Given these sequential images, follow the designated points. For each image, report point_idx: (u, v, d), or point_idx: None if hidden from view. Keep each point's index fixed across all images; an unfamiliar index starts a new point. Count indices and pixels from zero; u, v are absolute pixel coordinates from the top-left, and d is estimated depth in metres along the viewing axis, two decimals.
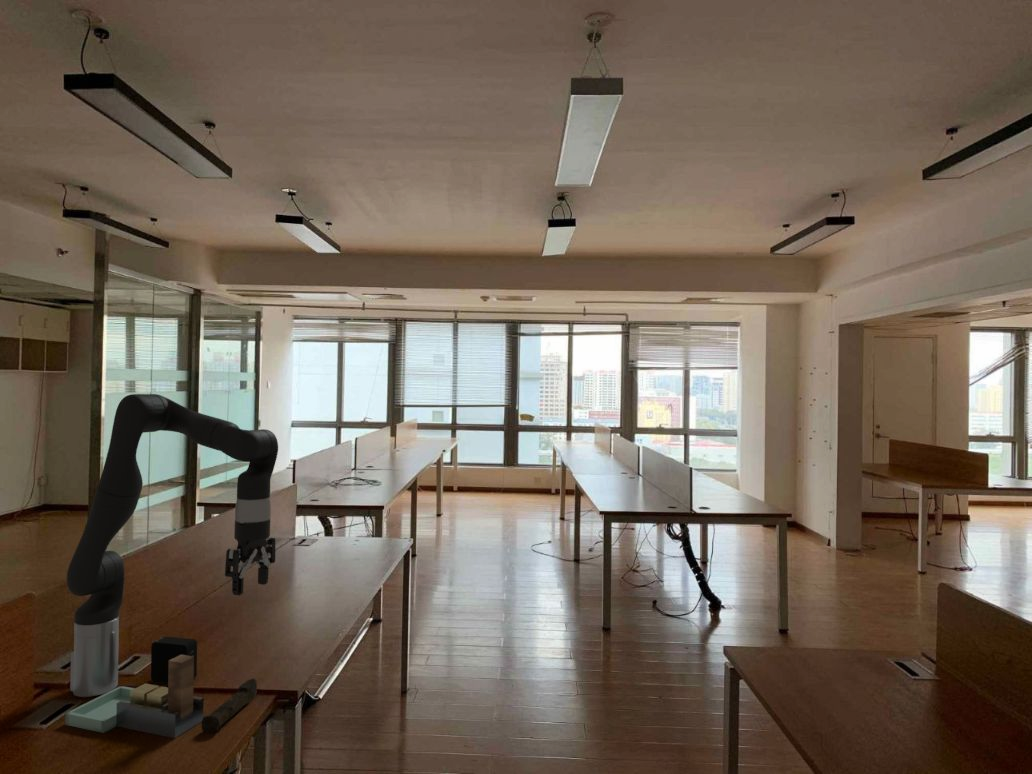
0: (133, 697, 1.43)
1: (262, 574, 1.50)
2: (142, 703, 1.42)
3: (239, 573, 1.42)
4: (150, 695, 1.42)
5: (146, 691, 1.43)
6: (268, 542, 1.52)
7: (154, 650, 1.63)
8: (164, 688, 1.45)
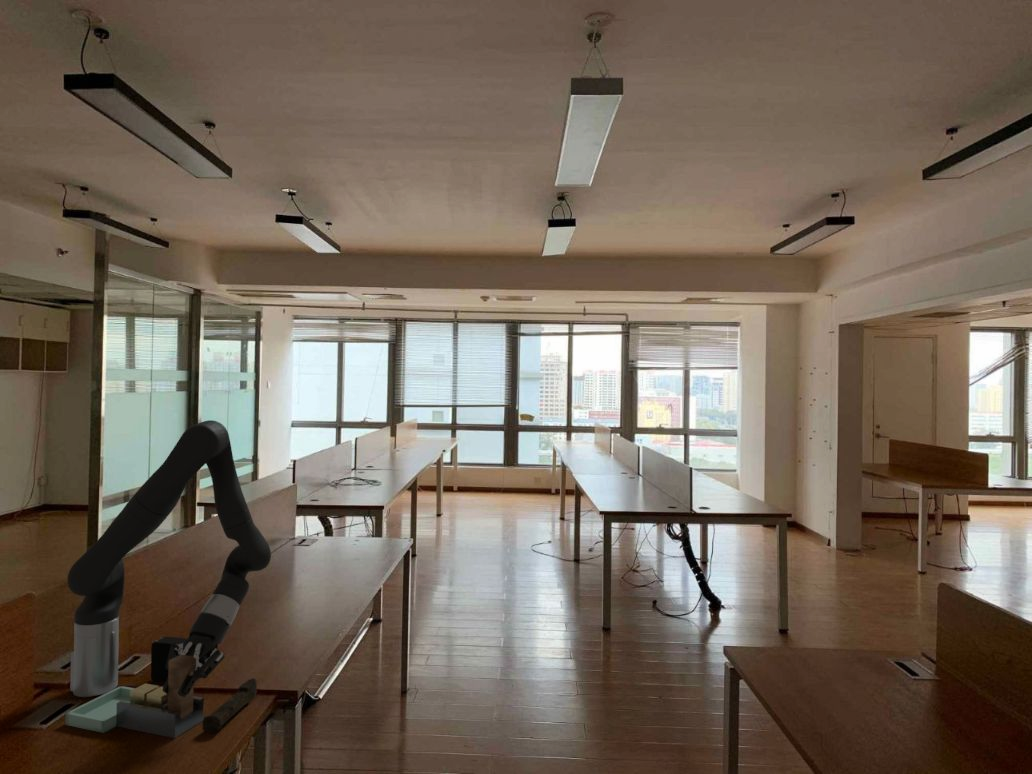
0: (133, 697, 1.43)
1: None
2: (142, 703, 1.42)
3: None
4: (150, 695, 1.42)
5: (146, 691, 1.43)
6: None
7: (154, 650, 1.63)
8: None
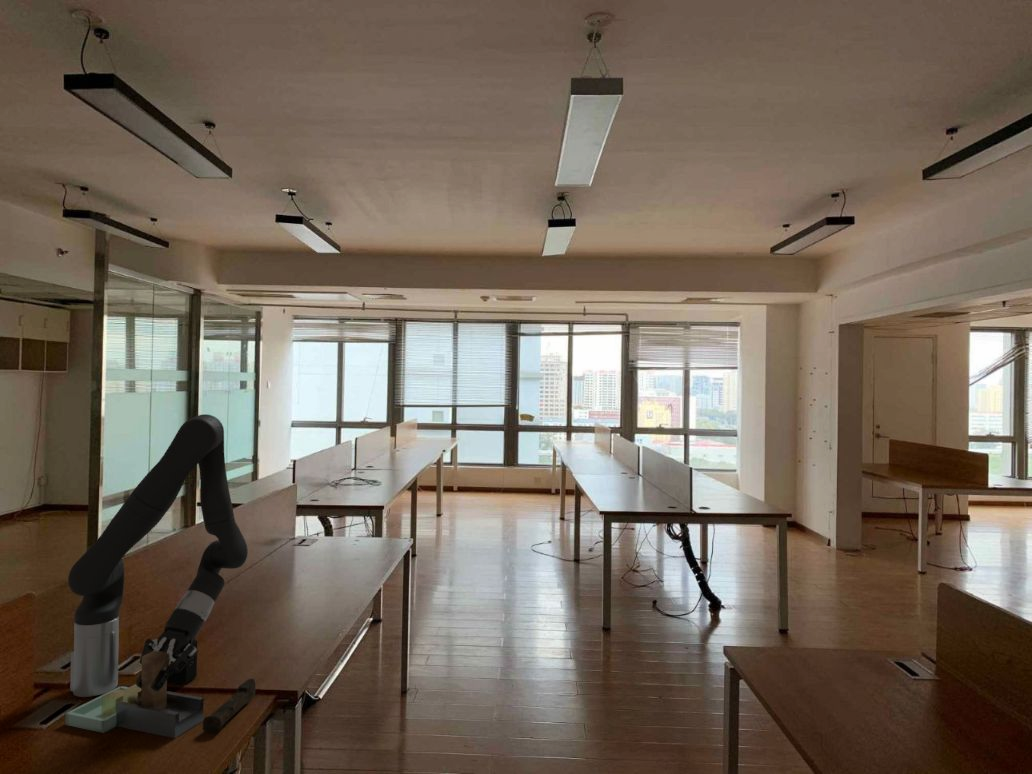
0: (105, 710, 1.45)
1: None
2: (109, 700, 1.45)
3: None
4: (126, 691, 1.44)
5: None
6: None
7: None
8: None
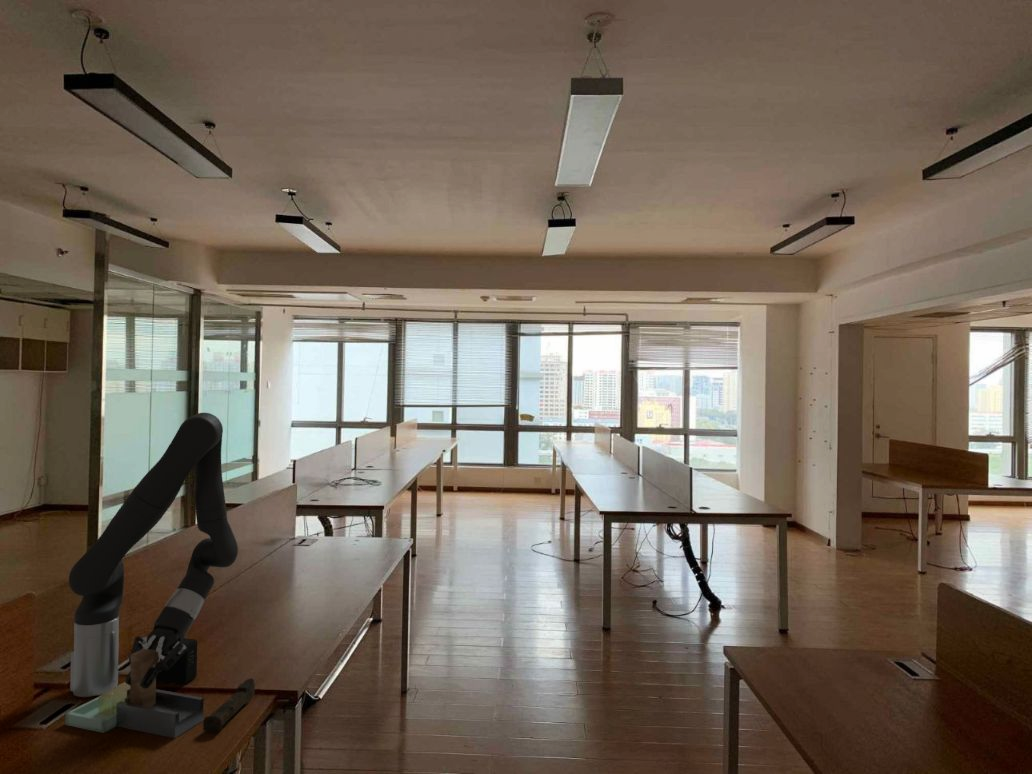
0: (102, 710, 1.46)
1: None
2: (106, 699, 1.45)
3: None
4: (116, 689, 1.45)
5: None
6: None
7: None
8: None
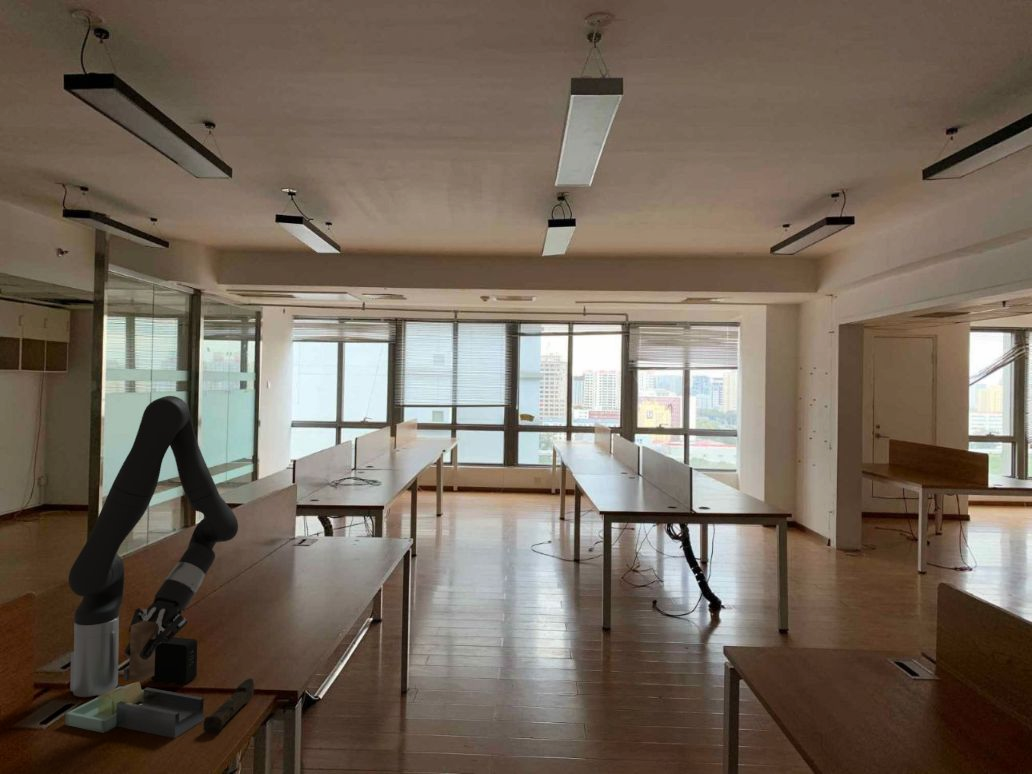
0: (102, 710, 1.46)
1: None
2: (106, 699, 1.45)
3: None
4: (114, 692, 1.45)
5: None
6: None
7: None
8: None
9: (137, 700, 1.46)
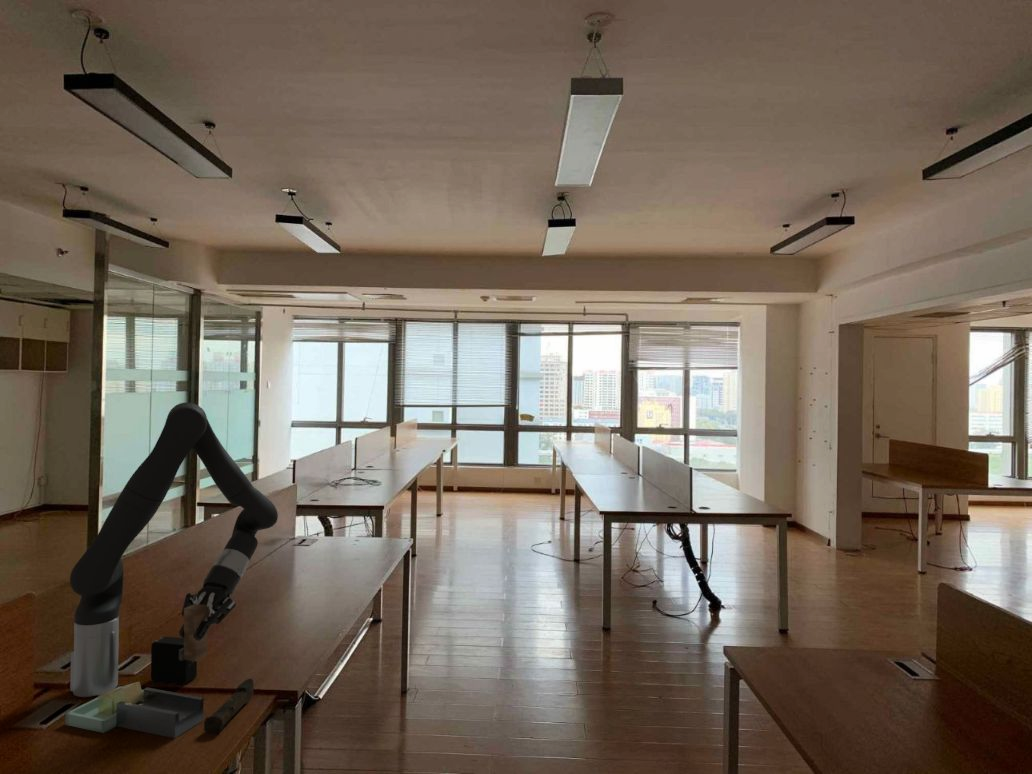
0: (102, 710, 1.46)
1: None
2: (106, 699, 1.45)
3: None
4: (114, 692, 1.45)
5: None
6: None
7: (154, 650, 1.63)
8: None
9: (137, 700, 1.46)
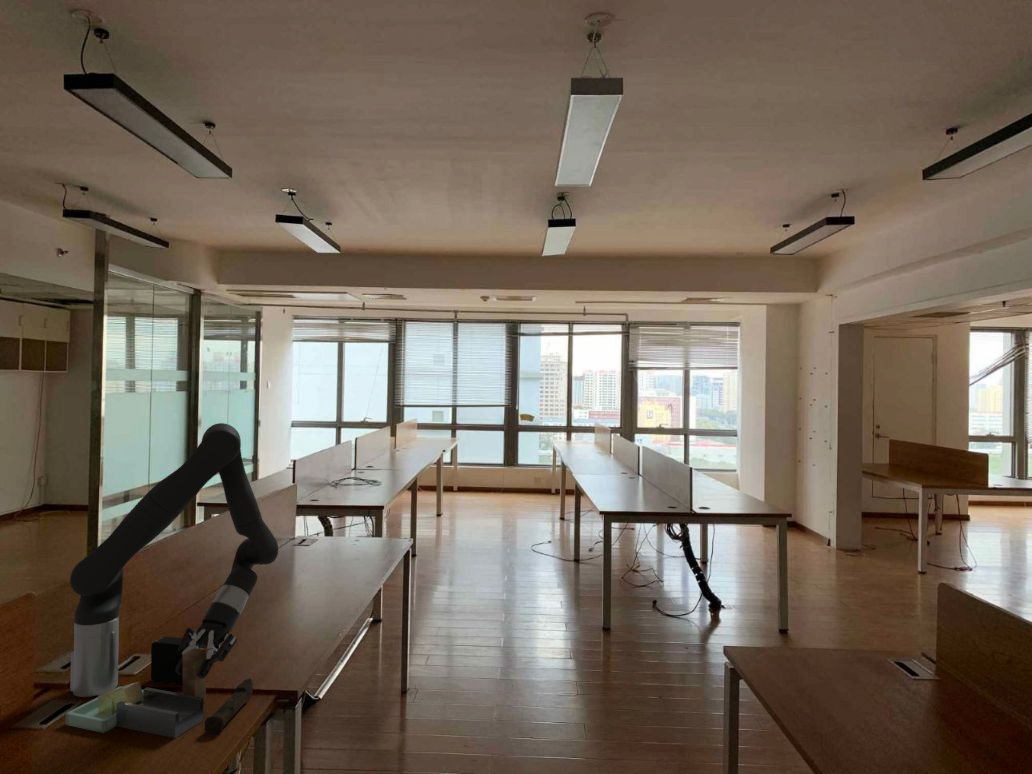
0: (102, 710, 1.46)
1: None
2: (106, 699, 1.45)
3: None
4: (114, 692, 1.45)
5: None
6: None
7: (154, 650, 1.63)
8: None
9: (137, 700, 1.46)
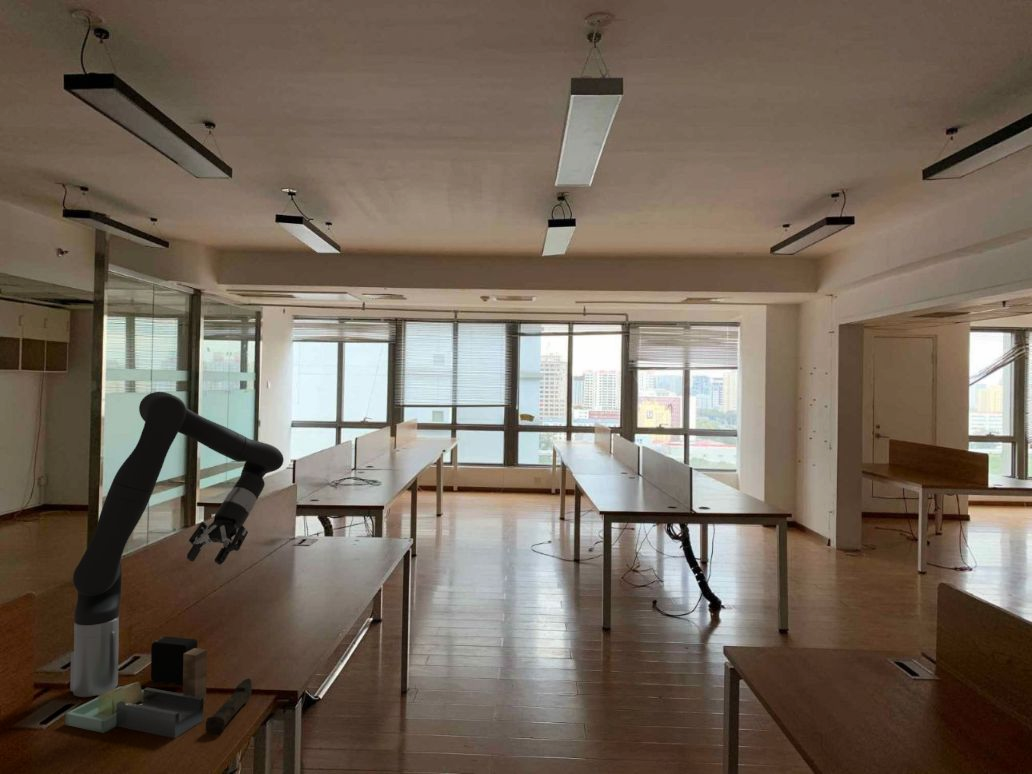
0: (102, 710, 1.46)
1: (196, 552, 1.66)
2: (106, 699, 1.45)
3: None
4: (114, 692, 1.45)
5: None
6: None
7: (154, 650, 1.63)
8: None
9: (137, 700, 1.46)
